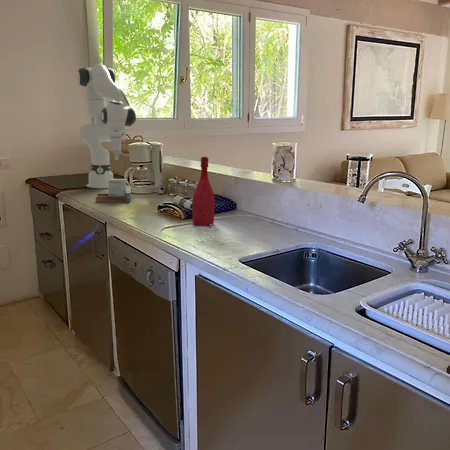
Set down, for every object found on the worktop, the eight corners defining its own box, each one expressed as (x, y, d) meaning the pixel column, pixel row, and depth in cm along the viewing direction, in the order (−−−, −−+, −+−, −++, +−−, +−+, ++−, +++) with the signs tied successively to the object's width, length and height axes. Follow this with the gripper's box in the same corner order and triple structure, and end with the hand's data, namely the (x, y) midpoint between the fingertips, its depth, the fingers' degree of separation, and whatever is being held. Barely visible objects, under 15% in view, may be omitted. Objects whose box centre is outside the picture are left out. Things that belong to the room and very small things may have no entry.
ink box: (126, 200, 254) (126, 178, 252) (124, 201, 250) (123, 180, 247) (111, 199, 255) (110, 178, 252) (108, 201, 250) (108, 179, 247)
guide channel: (97, 198, 256) (97, 189, 254) (130, 198, 259) (130, 189, 258) (95, 202, 246) (95, 193, 244) (130, 202, 249) (130, 193, 248)
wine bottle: (217, 222, 210) (219, 156, 203) (209, 227, 201) (211, 158, 194) (197, 220, 213) (198, 155, 206) (188, 225, 204) (189, 157, 197)
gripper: (111, 131, 253) (112, 156, 256) (109, 133, 234) (109, 161, 237) (123, 131, 254) (123, 156, 258) (121, 133, 235) (122, 161, 238)
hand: (117, 158), depth 247 cm, fingers open, 8 cm apart
